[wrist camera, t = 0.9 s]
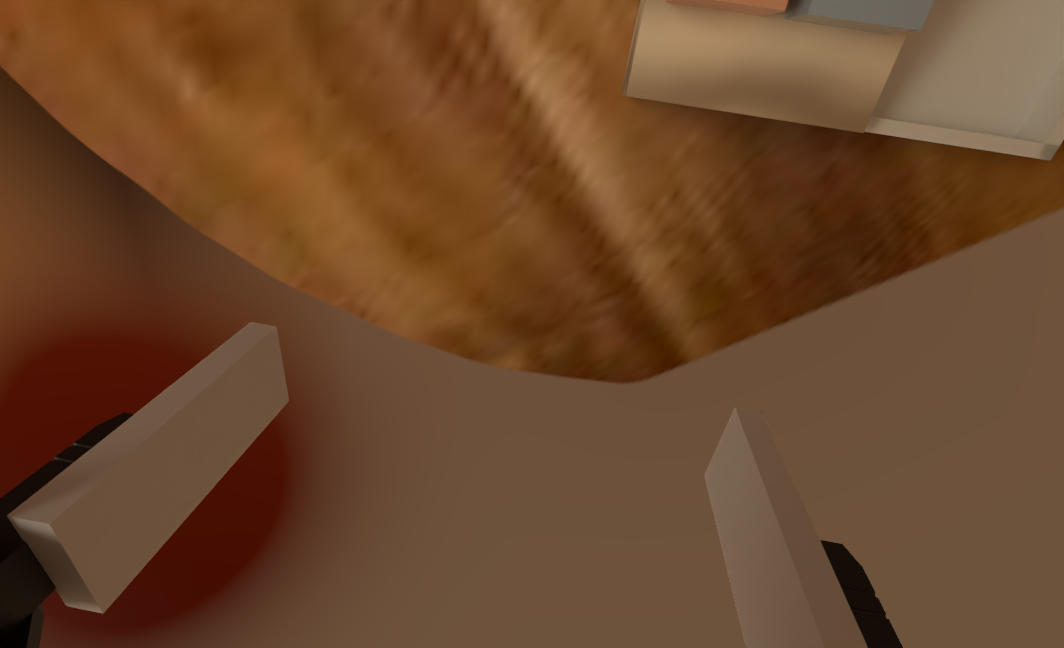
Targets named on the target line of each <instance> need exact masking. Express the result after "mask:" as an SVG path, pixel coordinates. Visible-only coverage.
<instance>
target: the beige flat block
mask: <svg viewBox="0 0 1064 648" xmlns="http://www.w3.org/2000/svg"><path fill="white" fill-rule="evenodd" d="M790 1H791V0H788V3H787V6H786V9H785V11H782V12H779V13H775V14H772V15H768V16H765V17H764V16H757V15H750V14H744V13H737V12H730V11H723V10H717V9H710V8H703V7H696V6H690V5H683V4H676V3H669V2H666V0H640V3H639V8H638V13H637V18H636V23H635V28H634V33H633V38H632V43H631V48H630V52H629V57H628V62H627V67H626V72H625V77H624V82H623V87H622V93H623V94H624V95H625V96H628V97H635V98H641V99H648V100H654V101H661V102H667V103H673V104H680V105H686V106H693V107H699V108H706V109H712V110H718V111H725V112H731V113H738V114H744V115H750V116H757V117H763V118H770V119H776V120H783V121H789V122H795V123H802V124H808V125H815V126H821V127H827V128H834V129H840V130H847V131H853V132H860V133H864V131H865V129H866V127H867V124H868V122H869V120H870V118H871V115H872V113H873V111H874V108H875V106H876V104H877V102H878V99H879V97H880V95H881V92H882V90H883V88H884V86H885V83H886V81H887V79H888V77H889V74H890V72H891V70H892V67H893V65H894V63H895V61H896V58H897V56H898V54H899V52H900V49H901V47H902V45H903V42H904V40H905V38H906V36H907V33H908V32H904V33H894V34H879V33H872V32H865V31H859V30H852V29H845V28H838V27H832V26H825V25H818V24H811V23H805V22H798V21H791V20H785V17H786V14H787V11H788V7H789V4H790Z"/></svg>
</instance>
